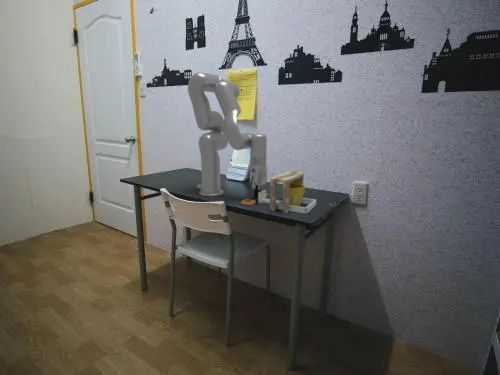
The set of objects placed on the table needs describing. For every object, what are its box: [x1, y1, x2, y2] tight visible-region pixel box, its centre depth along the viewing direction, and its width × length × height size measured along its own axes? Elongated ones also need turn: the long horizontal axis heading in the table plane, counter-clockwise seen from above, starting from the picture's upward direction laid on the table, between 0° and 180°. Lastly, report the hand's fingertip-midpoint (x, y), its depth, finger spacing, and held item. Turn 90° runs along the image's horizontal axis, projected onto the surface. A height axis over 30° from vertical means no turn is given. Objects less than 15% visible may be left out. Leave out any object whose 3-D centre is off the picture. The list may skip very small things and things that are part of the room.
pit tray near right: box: [240, 198, 257, 207], centre depth 140 cm, size 5×5×2 cm
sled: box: [257, 189, 318, 215], centre depth 138 cm, size 25×15×5 cm, turn 62°
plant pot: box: [281, 183, 306, 207], centre depth 136 cm, size 10×10×10 cm
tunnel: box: [269, 170, 305, 214], centre depth 137 cm, size 8×21×14 cm, turn 152°
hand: (257, 198), depth 145 cm, fingers closed
